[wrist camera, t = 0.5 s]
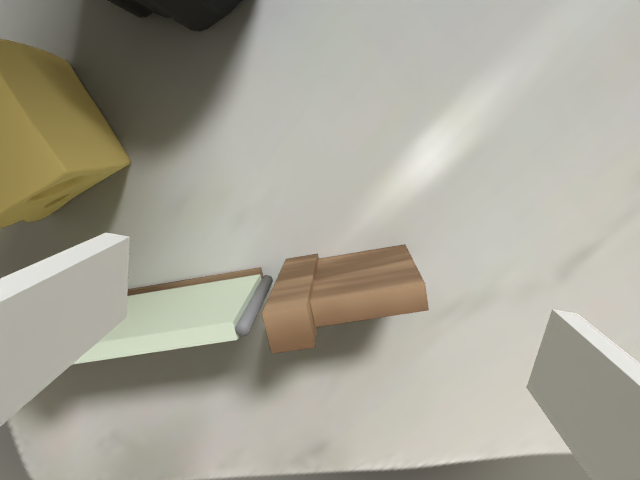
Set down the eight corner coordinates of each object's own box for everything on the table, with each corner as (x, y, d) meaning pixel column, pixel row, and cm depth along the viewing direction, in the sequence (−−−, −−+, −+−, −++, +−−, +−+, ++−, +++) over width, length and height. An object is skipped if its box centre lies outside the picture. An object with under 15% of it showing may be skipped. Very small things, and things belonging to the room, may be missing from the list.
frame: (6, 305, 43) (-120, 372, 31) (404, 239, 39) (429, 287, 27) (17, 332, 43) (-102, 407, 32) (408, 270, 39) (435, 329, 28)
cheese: (51, 217, 40) (-41, 245, 30) (-22, 112, 38) (-146, 107, 28) (140, 163, 38) (72, 175, 29) (69, 50, 36) (-31, 22, 27)
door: (270, 272, 39) (246, 319, 30) (278, 304, 40) (256, 360, 30) (91, 301, 41) (14, 355, 31) (102, 331, 42) (29, 393, 32)
